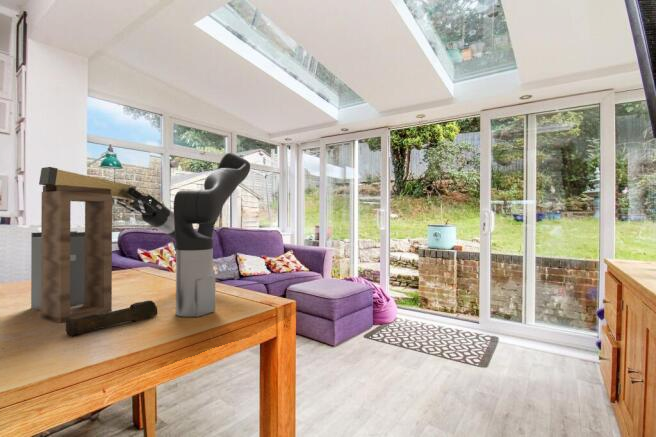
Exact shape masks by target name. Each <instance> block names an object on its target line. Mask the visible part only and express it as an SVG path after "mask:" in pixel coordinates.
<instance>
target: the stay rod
mask: <svg viewBox="0 0 656 437" xmlns="http://www.w3.org/2000/svg"><path fill="white" fill-rule="evenodd" d="M38 184H39V186H50V187H56V185H68V186H80V187H92V188H105V189H111V194H112V199H115V198H118V199H124V200H133V201H134V200H135V199H134V198H133V197H131V196H130V195H128V194H127V193H126V192H127V190H128V188H129V187H132V188H134V189H135V190H137V186H134V185H130V184H128V183H127V184H126V183H122V182H117V181H113V180H108V179H104V178H103V179H102V178H99V177H94V176H90V175H85V174H80V173H77V172H76V173H75V172H71V171H66V170H63V169H58V168H57V167H54V166H53V167H52V166H46V167H41V170H40V177H39V182H38Z"/></svg>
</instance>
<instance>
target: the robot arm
mask: <svg viewBox="0 0 656 437" xmlns="http://www.w3.org/2000/svg"><path fill="white" fill-rule="evenodd" d="M250 170H251V163H250V162H249V161H248V160H247V159H245V158H243V157H240V156H239V155H238V154H235V153H234V152H233V153H232V152H230V151H228V152H226V153H224V155H223V156H222V158H221V159H220V162H219V164H218V166H217V168H216V169H215V170H213V171H212V172H211V173H210V174H208V175H207V177H206V178H205V180H204V183H203V185H204V186H203V187H204V188H203V189H180V190H178V191H177V192H176V193H175V196H174V200H173V211H172V210H171V209H169V208H168V207H167V206H165V205H164V204H163V203H161V202H160V201H159V200H157V199H155V197H153V196H152V195H151V194H147V195H146V194H144V193H141V192H139V191H138V190H137V189H136V190H135V189H134V188H132V187H129V188H128V190H127V192H126V193H127V194H128V195H130V196H131V197H133V198H134V199H135V200H124V199H118V198H114V199H115V200H117V201H116V204H117V205H119V206H121V207H123V208H124V209H125V210H127V211H130V213H134V212H136V213H138V214H141V219H142V221H143V222H144V223H146V224H148V225H149V226H152V227H153V228H154V229H156V230H158V231H160V232H162V233H164V234H166V235H167V236H169V237H171V238H173V239H174V240H175V315H177V316H179V317H188V318H189V317H190V318H191V317H196V318H200V317H202V316H204V315H208V314H210V313H213V312H215V311H216V276H214V274H213V273H214V272H213V271H214V270H213V264H214V263H213V262H214V261H213V259H214V250H213V248H214V246H213V245H214V241H213V238H212V237H213V233H214V228H215V225H216V223H217V221H218V220H219V217H220V215H221V213H222V210H223V207H224V205H225V203H226V202H227V200H228V199H229V198H230V197H231V196H232V195H233V193H234V192H235V190H236V189H237V188H238V186H239V185H240V184H241V183H243V181H244V180H246V178H247V177H248V175H249V173H250ZM196 224H197V225H198V228H197V229H196V228H194V225H196Z"/></svg>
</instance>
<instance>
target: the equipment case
mask: <svg viewBox="0 0 656 437" xmlns="http://www.w3.org/2000/svg"><path fill="white" fill-rule="evenodd" d="M30 235H31V238H30V239H31V241H30V242H31V243H30V244H31V247H30V248H31V250H30V251H31V255H30V256H31V259H30V260H31V261H30V262H31V268H30V270H31V271H30V272H31V273H30V274H31V275H30V277H31V279H30V280H31V283H30V284H31V285H30V286H31V287H30V288H31V289H30V290H31V291H30V293H31V294H30V300H31V301H30V304H31V305H30V309H33V310H37V311H41V232H31V234H30ZM83 304H85V231H81V232H79V231H76V230H75V231H70V307H73V306H78V305H83Z"/></svg>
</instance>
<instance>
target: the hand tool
mask: <svg viewBox="0 0 656 437" xmlns="http://www.w3.org/2000/svg"><path fill="white" fill-rule="evenodd" d="M157 316H158V306H157V305H156V303H155V302H154V301H152V300H145V301H140V302H134V303H132V304H129V306H128V307H126V308H121V309H117V310H113V311H108V312H104V313H100V314H95V315H90V316H85V317H81V318H77V319H67V320H66V322H65V332H66V336H68V337H69V338H72V337H73V336H75V335H78V336H79V335H82V333H85V332H89V331H93V330H98V329H102V328H105V327H106V328H107V327H110V326H114V325H118V324H122V323H126V322H127V323H128V322H132V323H139V322H143V321H145V320H147V319H148V320H149V319H151V318H153V317H157Z"/></svg>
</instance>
